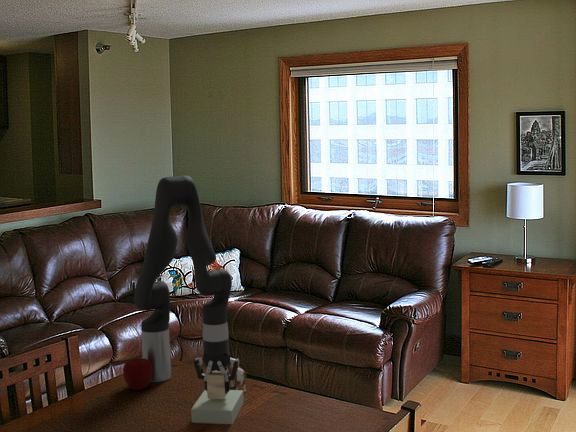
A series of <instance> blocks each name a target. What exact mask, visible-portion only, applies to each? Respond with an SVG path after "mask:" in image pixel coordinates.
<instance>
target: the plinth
mask: <svg viewBox="0 0 576 432" xmlns="http://www.w3.org/2000/svg"><path fill="white" fill-rule="evenodd" d="M244 401H245V400H244V392H243V390H242V389H240V390H239V389H238V390H236V389H230V391H229V392H228V393H227V395H226V397H225V398H224V399H217V398H208V396H207V391H205V389H204V391H203V392H202V393H201V395H200V396H199V398H198V399H197V400H196V402H194V404H193V406H192V407H191V409H190V411H191V412H190V413H191V415H190V416H191V423H193V424H196V423H197V424H218V425H221V424H222V425H223V424H224V425H233V423H234V422H235V420H236V418H237V416H238V414H239V413H240V411H241V409H242V407H243V405H244V403H245V402H244Z"/></svg>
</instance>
